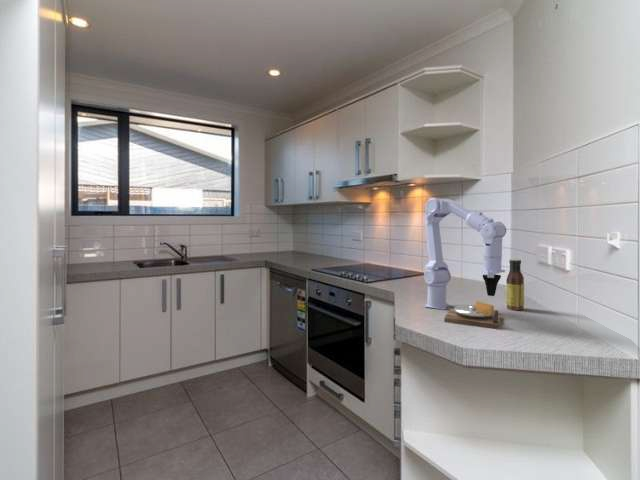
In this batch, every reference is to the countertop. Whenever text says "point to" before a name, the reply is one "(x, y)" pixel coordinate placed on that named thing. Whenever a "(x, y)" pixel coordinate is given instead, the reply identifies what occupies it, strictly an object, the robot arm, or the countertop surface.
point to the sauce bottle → (515, 286)
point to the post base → (474, 319)
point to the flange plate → (475, 310)
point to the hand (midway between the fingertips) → (491, 295)
